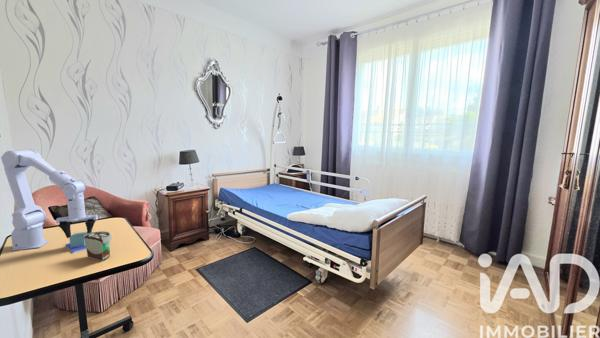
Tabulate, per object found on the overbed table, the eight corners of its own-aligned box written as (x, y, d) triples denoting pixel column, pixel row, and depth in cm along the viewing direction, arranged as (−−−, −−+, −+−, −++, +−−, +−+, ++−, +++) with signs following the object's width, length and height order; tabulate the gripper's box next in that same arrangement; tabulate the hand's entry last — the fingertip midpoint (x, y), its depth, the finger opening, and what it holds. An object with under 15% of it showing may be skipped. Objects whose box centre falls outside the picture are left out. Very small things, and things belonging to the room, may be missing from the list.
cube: (70, 247, 112) (69, 237, 111) (75, 243, 117) (74, 233, 116) (84, 246, 114) (83, 235, 113) (88, 241, 119) (87, 231, 118)
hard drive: (96, 245, 115) (87, 238, 123) (72, 251, 109) (65, 244, 116) (96, 248, 116) (88, 241, 123) (73, 255, 109) (65, 247, 116)
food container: (120, 255, 108) (118, 233, 107) (105, 262, 103) (103, 239, 101) (100, 250, 112) (98, 229, 111) (85, 256, 107) (83, 234, 105)
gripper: (50, 211, 107) (54, 241, 109) (92, 208, 112) (95, 237, 114) (59, 207, 113) (62, 235, 115) (98, 204, 119) (101, 231, 120)
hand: (79, 236), depth 115 cm, fingers open, 7 cm apart
